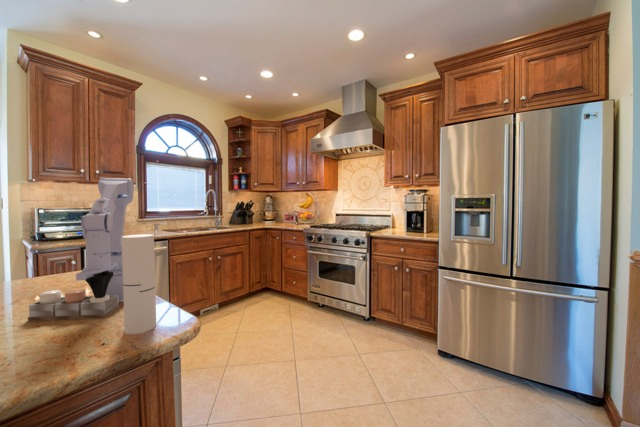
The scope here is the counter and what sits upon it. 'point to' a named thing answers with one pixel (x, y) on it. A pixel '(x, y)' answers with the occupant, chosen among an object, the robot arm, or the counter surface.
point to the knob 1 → (50, 297)
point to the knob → (99, 299)
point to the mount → (73, 309)
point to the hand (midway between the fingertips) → (100, 297)
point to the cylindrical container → (138, 283)
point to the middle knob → (75, 296)
